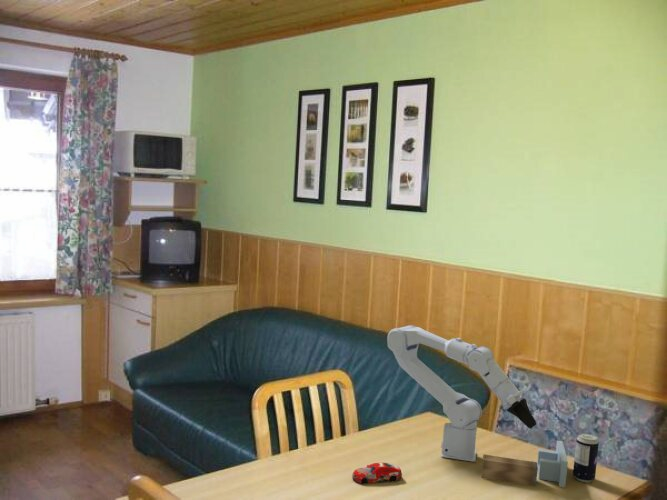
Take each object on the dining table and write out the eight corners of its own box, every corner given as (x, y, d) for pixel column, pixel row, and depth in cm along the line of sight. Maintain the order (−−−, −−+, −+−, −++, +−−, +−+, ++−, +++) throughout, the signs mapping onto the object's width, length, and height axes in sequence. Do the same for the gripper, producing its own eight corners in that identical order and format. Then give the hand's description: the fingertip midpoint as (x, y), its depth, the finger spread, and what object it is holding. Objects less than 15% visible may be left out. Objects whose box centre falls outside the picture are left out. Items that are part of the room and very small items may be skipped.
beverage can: (596, 484, 187) (600, 441, 186) (574, 481, 188) (578, 438, 187) (592, 476, 192) (597, 434, 191) (571, 473, 193) (575, 431, 192)
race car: (355, 486, 177) (356, 470, 176) (349, 477, 182) (349, 462, 182) (404, 482, 181) (405, 467, 180) (396, 473, 186) (397, 459, 185)
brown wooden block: (481, 477, 186) (483, 459, 186) (481, 472, 190) (483, 454, 190) (535, 486, 183) (537, 467, 183) (535, 480, 187) (536, 462, 187)
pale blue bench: (539, 483, 185) (542, 458, 184) (536, 461, 201) (538, 437, 200) (565, 487, 184) (567, 461, 183) (560, 465, 199) (562, 441, 199)
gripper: (510, 374, 186) (544, 416, 181) (514, 378, 200) (545, 417, 195) (489, 390, 187) (522, 433, 182) (494, 393, 201) (525, 433, 195)
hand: (533, 426), depth 188 cm, fingers open, 7 cm apart
